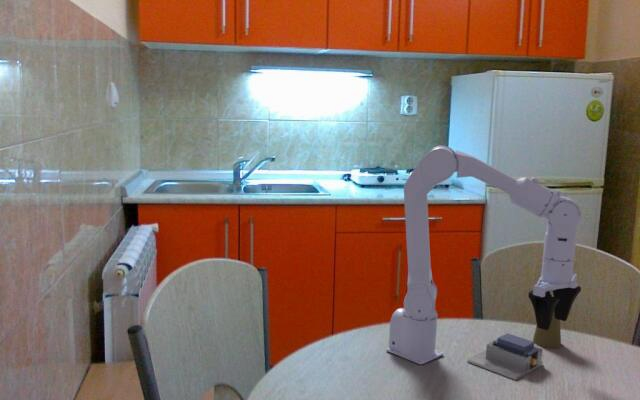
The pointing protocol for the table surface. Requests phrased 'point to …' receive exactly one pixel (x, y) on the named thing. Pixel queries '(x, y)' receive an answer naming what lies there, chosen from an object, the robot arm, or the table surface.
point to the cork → (549, 335)
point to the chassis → (506, 361)
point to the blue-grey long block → (517, 345)
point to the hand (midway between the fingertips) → (552, 324)
